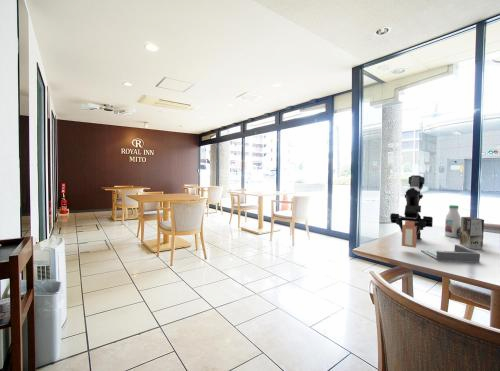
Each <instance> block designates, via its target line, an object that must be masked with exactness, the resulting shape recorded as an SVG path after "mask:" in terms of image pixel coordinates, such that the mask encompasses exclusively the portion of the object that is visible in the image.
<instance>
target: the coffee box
mask: <svg viewBox="0 0 500 371" xmlns="http://www.w3.org/2000/svg"><path fill="white" fill-rule="evenodd" d="M460 218H461V234H460V239H459V245H460V246H462V247H464V248H467V249H469V250H473V249H474V250H475V249H476V250H483V245H484V244H483V243H484V231H485V230H484V228H485V227H484V226H485V219H483V218H478V217H475V216H460Z"/></svg>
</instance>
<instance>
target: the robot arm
mask: <svg viewBox="0 0 500 371" xmlns="http://www.w3.org/2000/svg"><path fill="white" fill-rule="evenodd" d="M407 181H408V184H409V187H408V188H407V190H406V191H405V193H404V198H405V201H406V204H405V206H404V207H405V208H404V213H403V215H404V216H402V215H400V213H394V212H392V213H390V216H389V217H390V218H389V219H390V223H391V224H396V225H397V226H398V227H399V229H400V232H401V233H402V226H403V225H404V224H403V221H404V222H405V221H406V220H408V221H415V226H417V231H416V235H417V240H423V238H421V233H422V232H421V231H422V230H423V231H424V228H426V227H427V228H428V227H429V228H432V227H433V220H434V219H433V218H434V217H432V216H427V215H423V216H421V215H420V213H422V205H420V201H421V200H422V199H423V198H424V195H423V193H422V192H421V191H422V189H423V188H424V185H425V177H424V176H421V175H420V174H412V175H411V176H408V180H407Z"/></svg>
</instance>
